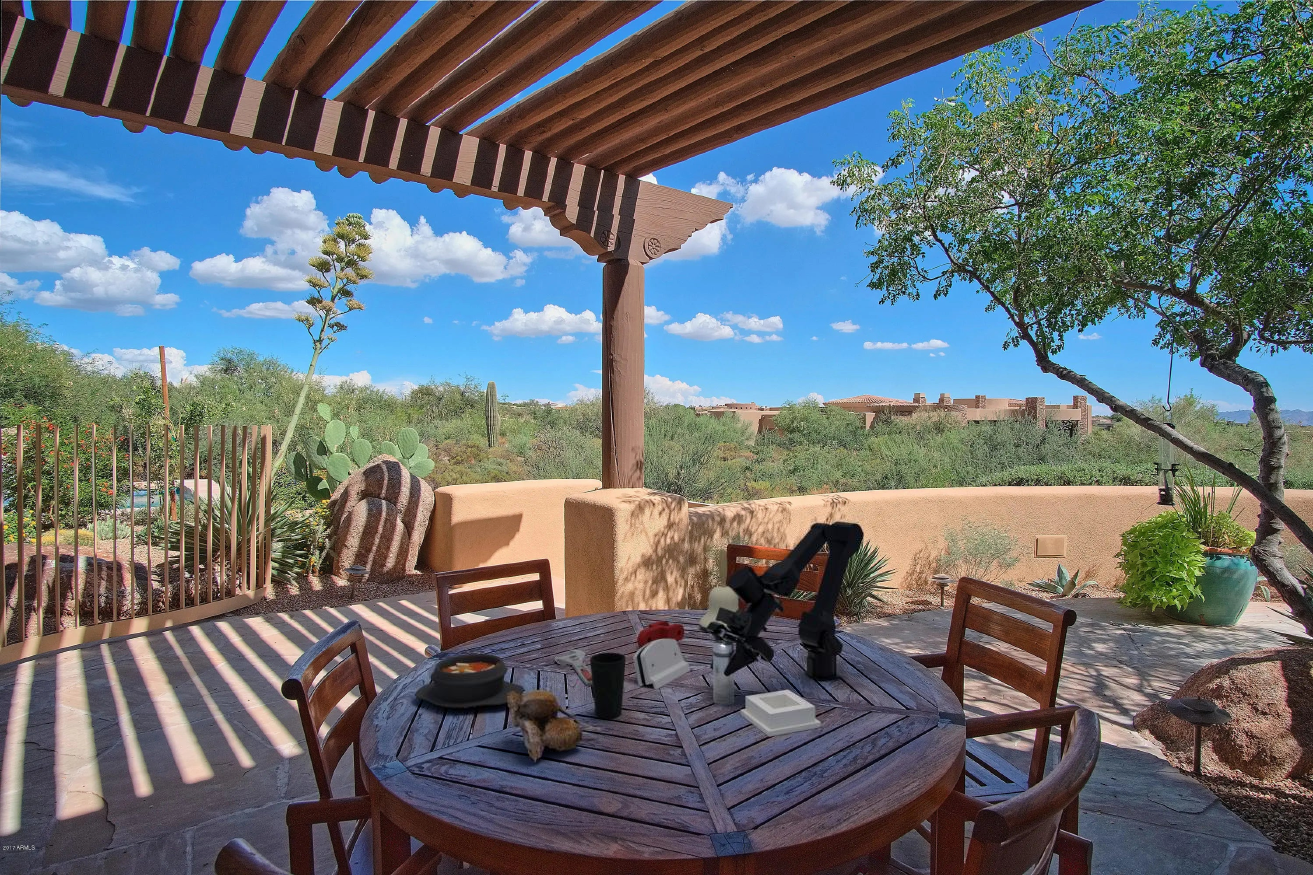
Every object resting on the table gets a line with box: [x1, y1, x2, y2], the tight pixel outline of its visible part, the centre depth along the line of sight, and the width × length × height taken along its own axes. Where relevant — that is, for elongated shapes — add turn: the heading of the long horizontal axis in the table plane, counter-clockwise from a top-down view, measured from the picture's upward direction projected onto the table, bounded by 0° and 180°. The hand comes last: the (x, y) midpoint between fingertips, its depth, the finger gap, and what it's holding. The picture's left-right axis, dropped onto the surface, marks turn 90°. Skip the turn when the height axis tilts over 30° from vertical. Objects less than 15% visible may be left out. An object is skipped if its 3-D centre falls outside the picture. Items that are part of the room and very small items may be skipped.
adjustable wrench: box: [554, 649, 593, 687], centre depth 176 cm, size 8×26×2 cm, turn 14°
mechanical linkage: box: [636, 620, 685, 649], centre depth 199 cm, size 16×7×5 cm, turn 141°
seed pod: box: [506, 689, 601, 762], centre depth 131 cm, size 13×16×15 cm
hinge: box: [632, 639, 691, 690], centre depth 170 cm, size 17×5×10 cm, turn 147°
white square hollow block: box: [739, 689, 822, 738], centre depth 142 cm, size 12×12×4 cm
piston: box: [711, 640, 735, 706], centre depth 153 cm, size 5×5×13 cm
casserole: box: [414, 653, 525, 709], centre depth 156 cm, size 25×19×8 cm
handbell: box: [698, 548, 740, 631], centre depth 214 cm, size 15×15×25 cm
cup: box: [589, 652, 627, 720], centre depth 147 cm, size 8×8×12 cm
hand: (718, 672), depth 153 cm, fingers closed on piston, 5 cm apart
